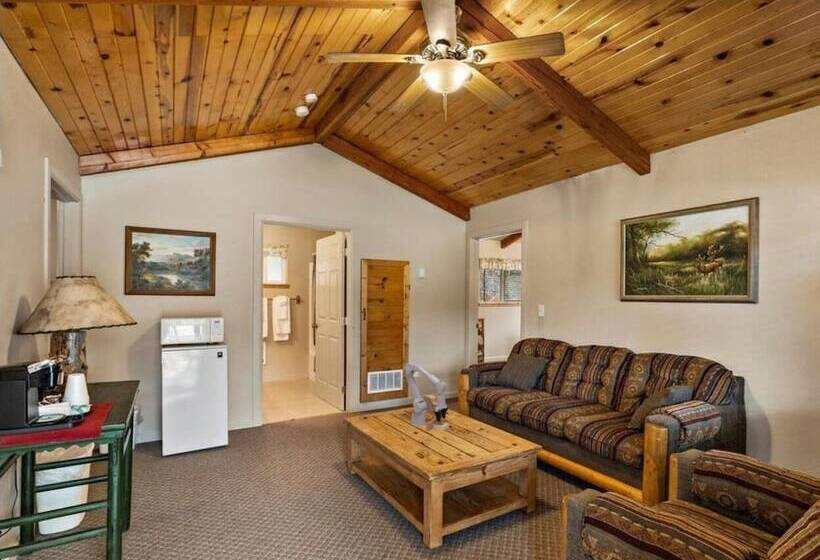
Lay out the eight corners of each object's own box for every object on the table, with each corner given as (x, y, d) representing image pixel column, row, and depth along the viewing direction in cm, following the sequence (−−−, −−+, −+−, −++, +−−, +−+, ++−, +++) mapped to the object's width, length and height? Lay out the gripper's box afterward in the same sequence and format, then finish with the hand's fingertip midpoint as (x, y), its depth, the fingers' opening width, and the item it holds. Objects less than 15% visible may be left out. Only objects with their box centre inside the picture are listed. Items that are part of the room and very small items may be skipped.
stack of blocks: (444, 416, 319) (444, 400, 319) (437, 418, 316) (437, 401, 316) (430, 409, 338) (430, 394, 338) (423, 410, 335) (423, 394, 335)
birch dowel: (438, 428, 291) (438, 417, 291) (440, 427, 293) (440, 416, 293) (442, 428, 290) (442, 418, 290) (443, 427, 292) (443, 417, 292)
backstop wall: (426, 430, 286) (426, 423, 286) (439, 422, 303) (439, 415, 303) (429, 431, 285) (429, 423, 285) (442, 422, 302) (442, 415, 302)
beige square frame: (433, 428, 290) (433, 424, 290) (438, 425, 297) (438, 421, 297) (444, 430, 286) (444, 426, 286) (449, 426, 293) (449, 423, 293)
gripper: (441, 402, 284) (441, 423, 283) (450, 398, 296) (450, 417, 296) (432, 401, 287) (432, 422, 287) (441, 396, 300) (441, 416, 299)
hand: (441, 419), depth 292 cm, fingers open, 7 cm apart
